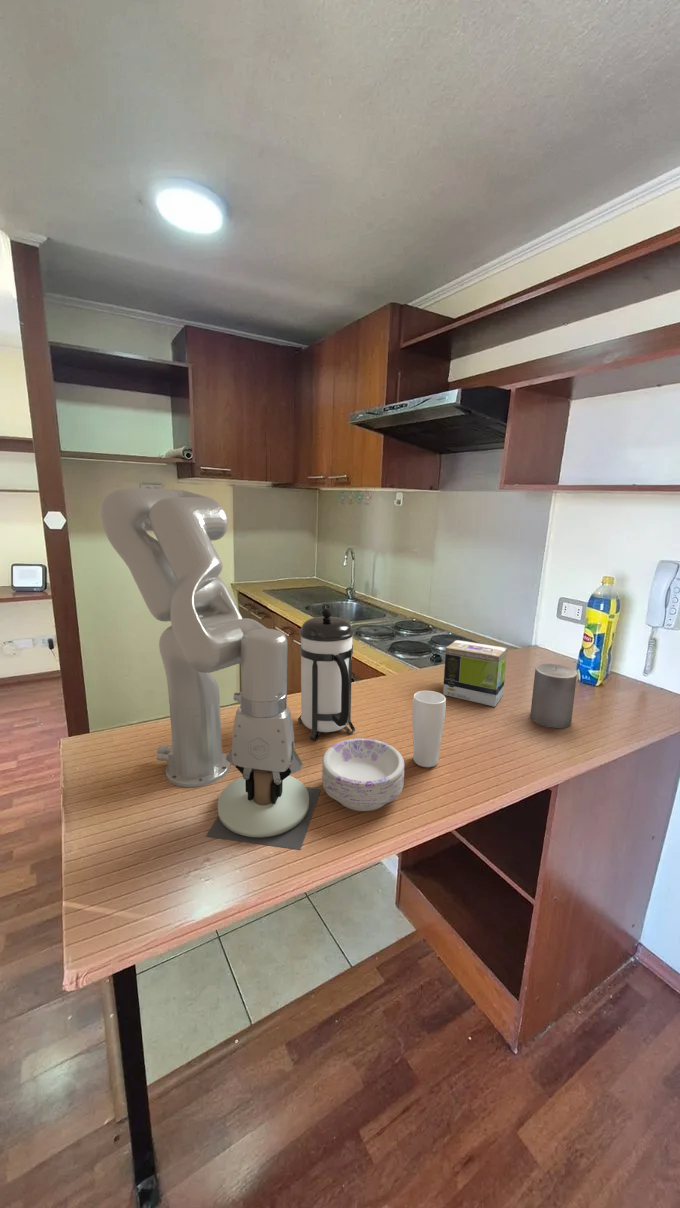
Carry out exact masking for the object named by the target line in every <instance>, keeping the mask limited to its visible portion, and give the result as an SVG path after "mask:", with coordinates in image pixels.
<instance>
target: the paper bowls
mask: <svg viewBox="0 0 680 1208" xmlns="http://www.w3.org/2000/svg"><path fill="white" fill-rule="evenodd" d="M321 761H322V765H321V766H322V767H321V768H322V770H321V772H322V773H321V774H322V775H321V777H322V779H321V781H322V787H323V789H324V791H325V793H326V794H327V795H328V796H329V797H330V798H331V799H334V800H335V801H337V802H338V803H340V804H341V805H342V806H343V807H345V808H347V809H350V810H353V811H357V812H371V811H375V810H378V809H380V808H382V807H383V806H385V805H386V804H389V803H391V802H392V801H395V799H397V798H398V797H399V796H400V794H401V793H402V791H403V788H404V781H405V761H404V757H403V756H402V753H400V751H398V749H396V748H395V747H394V746H392V745H390V744H389V743H386V742H384V741H381V740H378V739H372V738H351V739H349V738H348V739H345V740H342V741H339V742H336V743H334V744H333V745H331V746H330V747H329V748H328V749H327V750H326V751H325V753H324V754H323V756H322V760H321Z"/></svg>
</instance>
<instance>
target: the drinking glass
mask: <svg viewBox="0 0 680 1208" xmlns="http://www.w3.org/2000/svg"><path fill="white" fill-rule="evenodd" d="M412 698H413V699H412V710H411V711H412V718H411V719H412V738H413V739H412V740H413V742H412V744H413V745H412V746H413V753H412V755H413V757H412V759H413V762H414V763H415V764H416V765H417V766H419V767H422V768H433V767H435V766H437V765H438V763H439V759H440V750H441V744H442V738H443V731H444V725H445V720H446V709H447V707H446V705H447V704H446V703H447V697H446V695H443V693H440V692H437V691H433V690H419V691H417V692H415V693H414V694H413V697H412Z"/></svg>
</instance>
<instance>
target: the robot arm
mask: <svg viewBox="0 0 680 1208" xmlns="http://www.w3.org/2000/svg"><path fill="white" fill-rule="evenodd" d="M100 515H101V516H100V517H101V523H102V526H103V530H104V532H105V535H106V537H107V539H108V542H109V543H110V544H111V546H112V548H113V549H114V550H115V552H116V553H117V554H118V555H119V557H120V558H121V559H122V560H123V561H124V563H125V565H126V566H127V567H128V569H129V571H130V574H131V576H132V578H133V580H134V582H135V584H136V586H137V588H138V589H139V590H138V591H139V592H140V595H141V596H142V599H143V600H144V602H145V605H146V607H147V609H148V610H149V612H150V614H151V615H152V617H154V619H156V620H158V621H159V622H170V623H171V625H170V626H168V627H167V628H165V629H164V630H163V632H162V633H161V635H160V637H159V639H158V640H159V641H158V643H159V644H158V647H159V652H160V653H159V654H160V657H161V660H162V663H163V667H164V670H165V676H166V682H167V691H168V693H167V695H168V704H169V717H170V718H169V719H170V730H171V731H170V732H171V744H172V745H171V746H169V745H163V744H160V745H159V746H158V747H157V748H156V752H157V754H156V760H157V761H160V762H161V761H163V762H164V761H166V762H167V763H168V764H167V766H166V769H165V776H166V779H167V780H168V782H169V783H171V785H174V786H178V787H180V788H198V787H200V788H201V787H205V786H207V785H211V784H213V783H215V782H217V781H220V780H221V779H222V778H223V777H225V776H226V775H227V774H228V773H229V771H230V769H231V765H232V766H235V768H236V769H237V770H238V771H239V772H240V773H241V775H242V777H243V778H244V779H245V785H246V792H248V800H252V799H253V797H254V769H258V770H266V771H273V778H274V779H273V782H272V784H271V803H272V804H275V803H276V801H277V799H278V797H281V795H282V786H283V780H284V779H285V778H286V777H288V776H291V775H292V774H295V773H297V772H300V771H301V770H302V768H303V766H304V765H303V762H302V760H301V758H300V757H299V755H298V753H297V752H296V749H295V731H294V730H295V729H294V723H293V718H292V717H293V716H292V713H291V709H290V707H288V706H287V697H288V693H287V692H288V691H287V690H288V688H287V687H288V639H287V636H286V635H285V633H283V632H282V631H280V630H277V629H273V628H267V627H266V626H264V625H263V624H262V623H260V622H259V621H257V620H256V619H253V618H248V617H247V618H244V617H243V615H242V614H241V612H240V611H239V608H238V606H237V604H236V603H235V600H234V599H233V597H232V596H231V593H230V592H229V590H228V588H227V586H226V585H225V582H224V581H223V580H222V578H221V577H220V576H219V575H221V573H222V571H223V561H222V560H221V558H220V556H219V553H218V552H217V550H216V549H215V546H214V544H213V543H212V541H213V542H214V541H217V540H218V541H219V540H221V539H222V538H223V537H224V536H225V535H226V533H227V532H228V523H229V522H228V516H227V513H226V511H225V509H224V508H223V507H222V505H221V504H220V503H219V502H218V501H217V500H216V499H214V498H211V497H209V496H205V495H201V494H198V493H194V492H192V491H188V490H184V489H174V488H148V487H147V488H146V487H128V488H127V487H126V488H125V487H124V488H119V489H116V490H113V491H111V492H108V493H107V495H104V497H103V500H102V502H101V506H100ZM148 532H153V533H154V536H155V537H156V538H154V537H153V536H151V535H150V534H149V533H148ZM235 665H240V671H241V672H240V681H241V682H240V688H241V689H240V692H234V693H233V701H235V702H236V701H237V702H238V703H239V707H238V708H237V709H236V712H235V716H234V723H233V729H232V730H233V731H232V741H231V750H230V751H229V753H228V754H227V753H225V752H223V746H222V745H223V742H222V741H223V739H222V723H221V719H222V718H221V702H220V701H221V698H220V689H219V688H220V687H219V684H218V682H217V679H216V678H215V677H213V675H212V674H211V673H214V672H218V671H220V670H223V669H227V668H229V667H233V666H235Z"/></svg>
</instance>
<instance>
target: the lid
mask: <svg viewBox="0 0 680 1208" xmlns="http://www.w3.org/2000/svg"><path fill="white" fill-rule="evenodd" d="M273 779H274V778H273V771H266V770H258V769H254V797H253V799H252V800H248V792H246V785H245V779H244V778H243V776H241V777H238V778H237V779H234V780H233V781H232V782H230V783H229V784H228V785H227V786H225V788H224V789H223V790H222V791H221V793H220V794H219V797H218V800H217V816H219V818H220V820H221V822H222V823H223V825H224V826H225V827H227V828H228V829H229V830H231V831H233V832H235V833H237V834H240V835H243V836H248V837H269V836H274V835H278V834H281V833H284V832H286V831H288V830H290V829H292V828H293V827H295V826H296V825H298V824H299V823H300V822H301V821H302V820H303V819H304V817H305V816H306V814H307V812H308V808H309V794H308V791H307V789H306V787H307V786H305V785H304V784H303V783H302V782H301V781H300V780H299V779H298V778H295V777H294V776H292V775H289V776H288V777H286V778H285V779H284V780H283V786H282V795H281V797H278V799H277V801H276V803H275V804H272V803H271V784H272V782H273Z"/></svg>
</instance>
